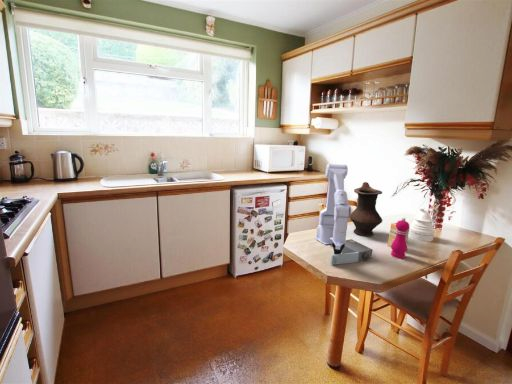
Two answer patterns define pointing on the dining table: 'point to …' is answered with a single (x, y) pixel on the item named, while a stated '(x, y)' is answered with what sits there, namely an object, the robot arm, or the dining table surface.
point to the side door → (344, 258)
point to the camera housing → (357, 249)
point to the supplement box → (394, 234)
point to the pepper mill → (400, 239)
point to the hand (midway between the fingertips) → (336, 258)
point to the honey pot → (422, 227)
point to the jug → (366, 210)
